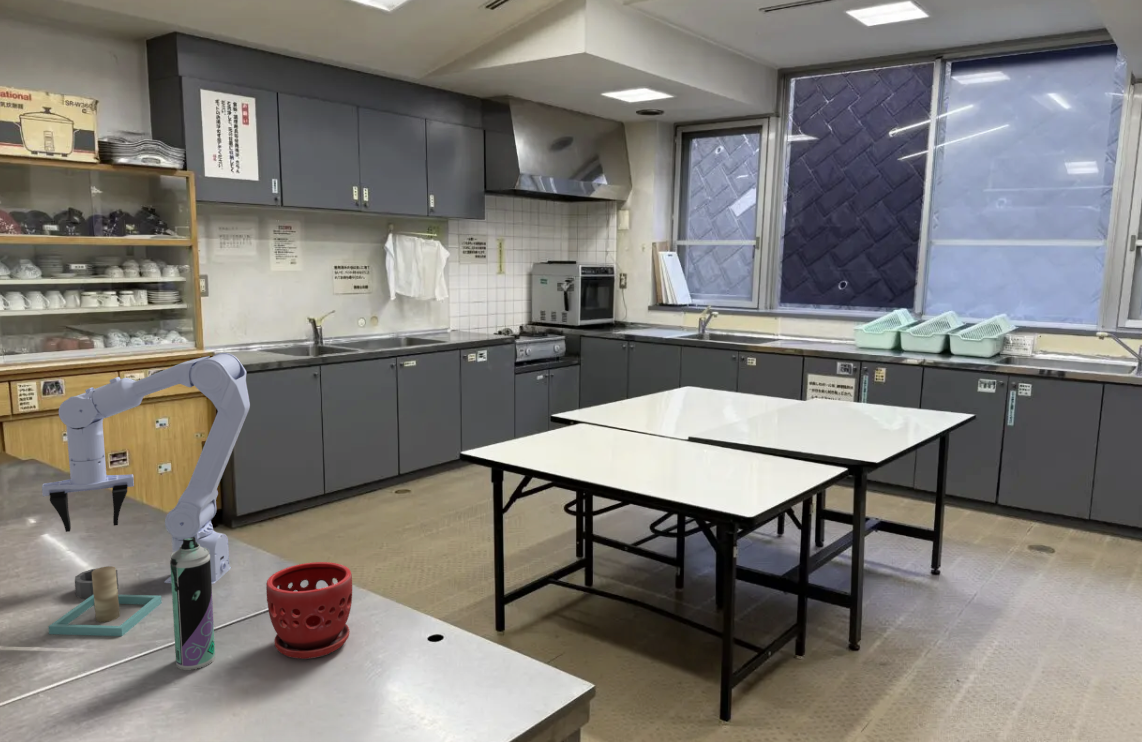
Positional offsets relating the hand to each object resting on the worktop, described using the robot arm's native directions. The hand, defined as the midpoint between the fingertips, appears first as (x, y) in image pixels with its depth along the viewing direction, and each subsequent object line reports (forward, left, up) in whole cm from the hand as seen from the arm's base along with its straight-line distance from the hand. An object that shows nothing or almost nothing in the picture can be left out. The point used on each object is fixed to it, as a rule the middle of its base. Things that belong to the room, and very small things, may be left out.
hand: (92, 526), depth 145 cm
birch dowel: (-12, +16, -10) cm, 22 cm away
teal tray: (-12, +16, -10) cm, 23 cm away
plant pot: (-49, +22, -11) cm, 55 cm away
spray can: (-33, +28, -11) cm, 45 cm away
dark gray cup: (-4, +6, -10) cm, 13 cm away
